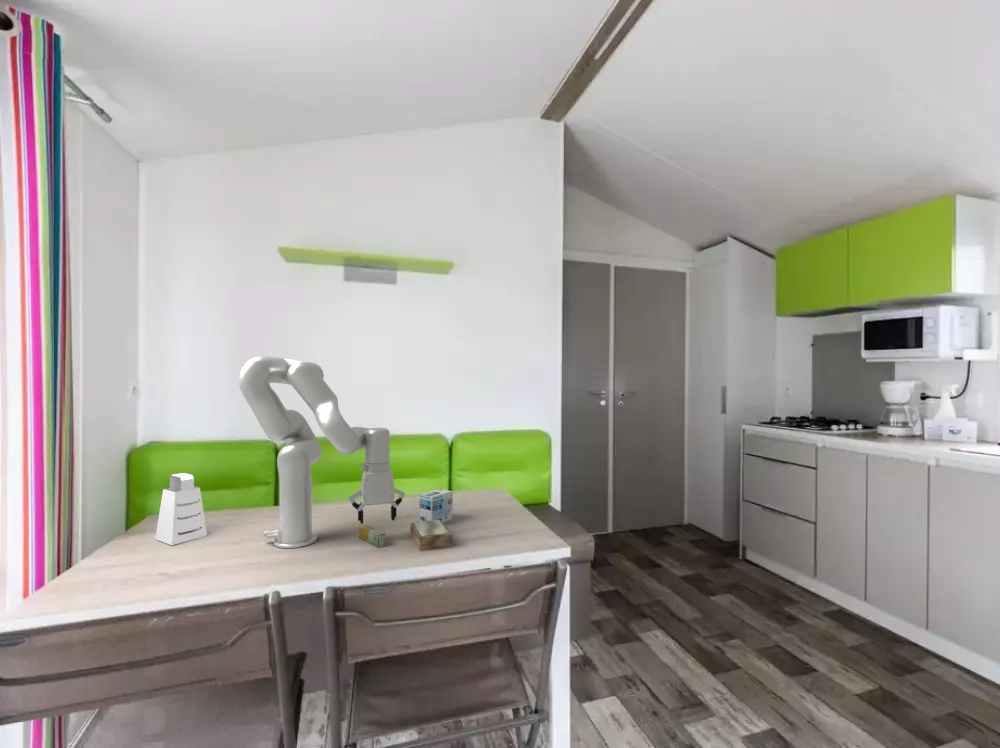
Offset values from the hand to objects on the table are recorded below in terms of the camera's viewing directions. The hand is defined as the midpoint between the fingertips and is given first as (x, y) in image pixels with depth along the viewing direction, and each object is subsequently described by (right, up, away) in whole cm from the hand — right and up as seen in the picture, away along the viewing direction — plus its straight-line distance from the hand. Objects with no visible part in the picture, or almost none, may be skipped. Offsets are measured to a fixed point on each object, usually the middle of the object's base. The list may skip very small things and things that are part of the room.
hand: (377, 521), depth 152 cm
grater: (-63, -6, +2) cm, 64 cm away
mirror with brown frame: (+17, -6, 0) cm, 18 cm away
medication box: (-1, -7, -1) cm, 7 cm away
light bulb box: (+16, -7, +19) cm, 26 cm away
